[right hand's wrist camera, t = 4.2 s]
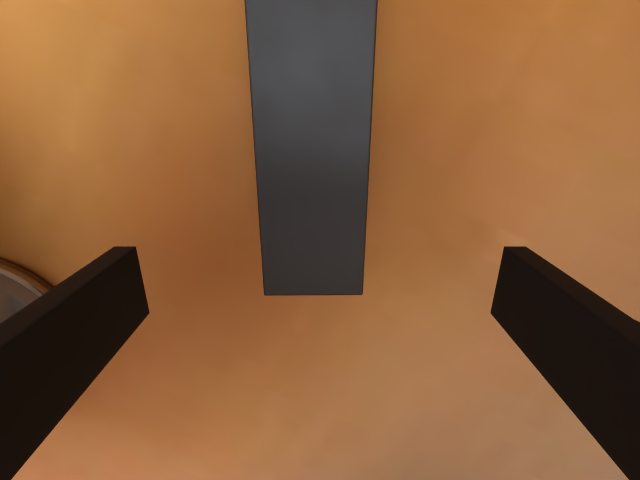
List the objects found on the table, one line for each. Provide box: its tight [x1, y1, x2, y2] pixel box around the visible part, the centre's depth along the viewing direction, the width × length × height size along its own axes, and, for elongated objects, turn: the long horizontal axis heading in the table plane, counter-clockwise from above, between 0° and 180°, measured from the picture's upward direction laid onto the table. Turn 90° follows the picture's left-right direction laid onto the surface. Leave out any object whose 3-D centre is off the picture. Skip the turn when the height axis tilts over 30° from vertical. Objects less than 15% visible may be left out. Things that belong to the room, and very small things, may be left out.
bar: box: [245, 0, 378, 295], centre depth 17 cm, size 24×5×9 cm, turn 0°
